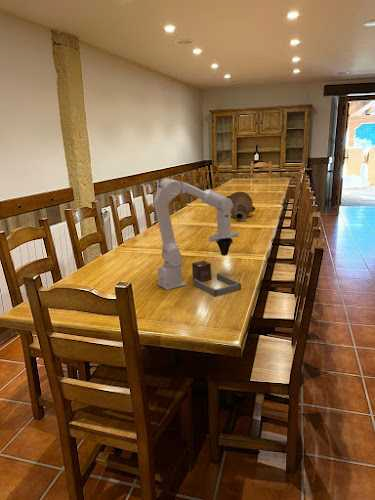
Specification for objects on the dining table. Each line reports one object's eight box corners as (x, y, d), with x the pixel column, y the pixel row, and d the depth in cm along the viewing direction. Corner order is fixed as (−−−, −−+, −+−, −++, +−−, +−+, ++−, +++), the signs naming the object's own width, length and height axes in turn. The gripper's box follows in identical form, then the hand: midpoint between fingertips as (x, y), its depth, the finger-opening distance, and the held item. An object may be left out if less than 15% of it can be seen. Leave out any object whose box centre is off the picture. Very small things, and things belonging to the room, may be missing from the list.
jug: (231, 214, 303) (228, 229, 277) (225, 191, 295) (222, 204, 269) (256, 209, 297) (255, 223, 271) (251, 185, 290) (250, 198, 263)
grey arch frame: (215, 296, 145) (215, 290, 144) (194, 285, 158) (193, 279, 157) (240, 289, 151) (240, 283, 150) (218, 278, 164) (218, 273, 163)
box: (203, 275, 168) (203, 260, 166) (211, 279, 163) (211, 263, 161) (192, 278, 165) (191, 262, 163) (199, 282, 160) (199, 266, 158)
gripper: (215, 228, 154) (216, 260, 158) (243, 223, 161) (243, 254, 165) (205, 226, 160) (206, 256, 164) (232, 221, 167) (233, 250, 171)
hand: (224, 255), depth 165 cm, fingers closed
